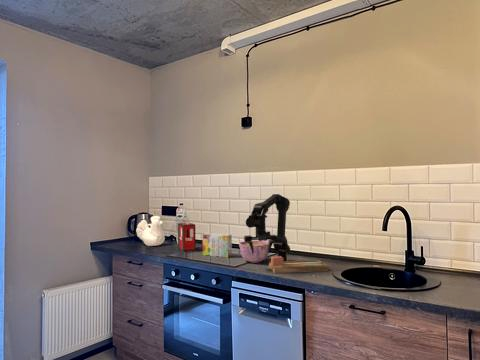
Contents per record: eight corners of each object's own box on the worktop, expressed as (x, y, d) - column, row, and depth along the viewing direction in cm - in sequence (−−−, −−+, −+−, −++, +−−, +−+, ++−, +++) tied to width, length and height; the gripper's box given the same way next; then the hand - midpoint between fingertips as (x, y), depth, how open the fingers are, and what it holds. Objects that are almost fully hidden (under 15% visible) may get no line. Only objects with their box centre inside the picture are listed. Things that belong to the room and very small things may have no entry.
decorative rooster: (168, 244, 278) (168, 215, 278) (155, 248, 264) (155, 216, 265) (146, 243, 290) (146, 214, 291) (132, 245, 276) (132, 215, 277)
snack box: (232, 256, 226) (232, 234, 226) (227, 258, 221) (227, 235, 222) (207, 253, 237) (206, 232, 237) (202, 255, 232) (202, 233, 232)
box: (269, 266, 195) (269, 261, 195) (318, 264, 198) (318, 259, 198) (274, 273, 179) (274, 268, 179) (328, 271, 183) (328, 265, 183)
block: (271, 263, 194) (271, 256, 194) (281, 263, 194) (281, 256, 194) (273, 266, 188) (273, 258, 188) (283, 265, 188) (283, 258, 188)
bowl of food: (268, 265, 198) (268, 246, 198) (236, 264, 202) (235, 245, 202) (272, 258, 217) (272, 240, 218) (242, 257, 221) (242, 240, 222)
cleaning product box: (195, 251, 246) (195, 224, 246) (183, 252, 242) (183, 225, 243) (189, 248, 261) (189, 222, 261) (178, 249, 257) (177, 223, 258)
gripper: (246, 228, 182) (246, 256, 181) (279, 227, 184) (280, 255, 183) (243, 225, 193) (244, 252, 192) (275, 224, 195) (275, 251, 194)
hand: (260, 253), depth 190 cm, fingers open, 9 cm apart
